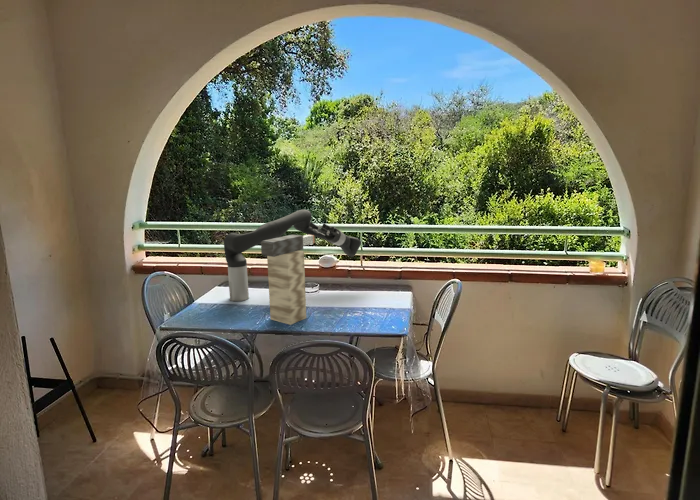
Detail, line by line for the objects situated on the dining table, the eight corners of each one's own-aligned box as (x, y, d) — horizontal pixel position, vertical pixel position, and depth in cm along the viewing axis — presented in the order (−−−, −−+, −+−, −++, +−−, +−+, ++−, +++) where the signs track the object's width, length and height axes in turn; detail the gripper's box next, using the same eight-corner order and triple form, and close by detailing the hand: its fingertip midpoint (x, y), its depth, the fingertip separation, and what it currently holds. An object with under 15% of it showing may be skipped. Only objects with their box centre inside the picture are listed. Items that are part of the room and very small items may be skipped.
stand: (280, 329, 186) (276, 243, 179) (260, 323, 193) (255, 240, 186) (310, 316, 201) (308, 236, 194) (291, 311, 208) (287, 233, 201)
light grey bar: (276, 252, 185) (276, 243, 185) (270, 251, 187) (269, 242, 187) (314, 243, 204) (314, 235, 204) (308, 242, 206) (308, 234, 206)
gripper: (326, 228, 236) (307, 216, 224) (348, 230, 228) (329, 218, 215) (322, 241, 235) (303, 230, 222) (344, 244, 227) (325, 233, 214)
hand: (316, 224), depth 219 cm, fingers open, 8 cm apart
